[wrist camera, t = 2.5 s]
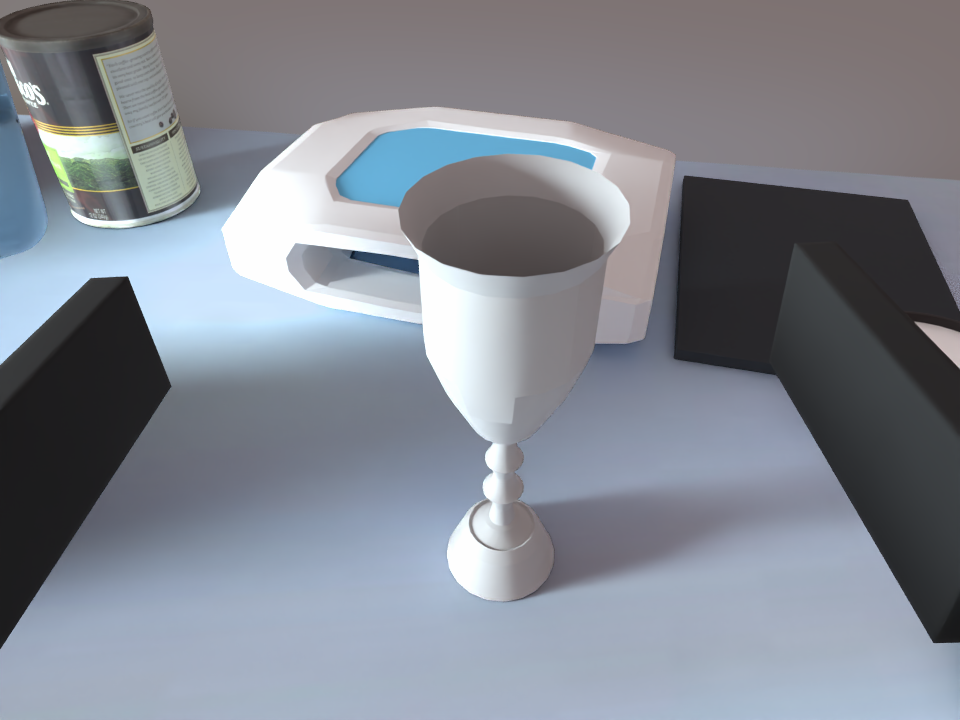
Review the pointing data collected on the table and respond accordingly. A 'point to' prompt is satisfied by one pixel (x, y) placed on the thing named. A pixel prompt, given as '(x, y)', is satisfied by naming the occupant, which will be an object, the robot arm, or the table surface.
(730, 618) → the table surface
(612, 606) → the table surface
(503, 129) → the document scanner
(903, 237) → the mat
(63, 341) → the robot arm
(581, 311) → the chalice
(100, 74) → the coffee can
